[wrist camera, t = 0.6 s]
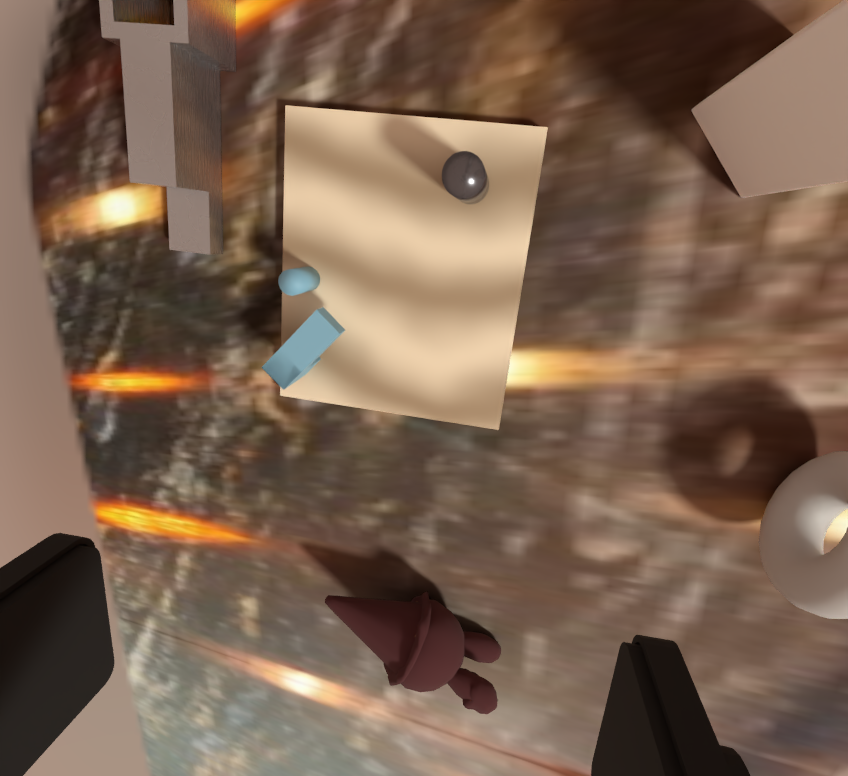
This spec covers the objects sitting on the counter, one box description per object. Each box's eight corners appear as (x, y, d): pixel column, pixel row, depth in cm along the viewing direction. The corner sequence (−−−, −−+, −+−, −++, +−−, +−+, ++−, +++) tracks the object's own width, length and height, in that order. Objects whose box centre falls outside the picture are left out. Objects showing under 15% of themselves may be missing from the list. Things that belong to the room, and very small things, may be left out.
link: (156, -31, 31) (92, -78, 26) (235, -27, 30) (184, -75, 26) (169, 247, 36) (118, 249, 31) (237, 255, 36) (195, 258, 31)
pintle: (455, 163, 30) (444, 149, 25) (491, 167, 30) (488, 153, 25) (451, 202, 31) (439, 195, 26) (486, 206, 31) (482, 200, 26)
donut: (813, 417, 33) (939, 491, 23) (863, 439, 32) (1009, 523, 23) (724, 535, 36) (801, 643, 26) (769, 556, 36) (863, 671, 26)
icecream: (293, 664, 37) (472, 743, 39) (323, 618, 33) (522, 707, 34) (326, 584, 43) (480, 655, 44) (355, 536, 39) (524, 616, 40)
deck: (293, 109, 32) (285, 105, 31) (546, 131, 30) (547, 127, 29) (287, 390, 38) (280, 395, 37) (498, 423, 36) (498, 429, 35)
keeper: (314, 260, 35) (285, 264, 30) (366, 315, 35) (345, 327, 31) (260, 319, 37) (225, 331, 32) (311, 370, 37) (283, 389, 33)
